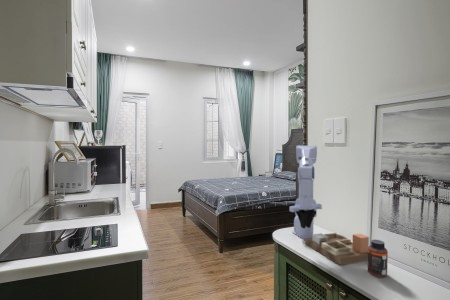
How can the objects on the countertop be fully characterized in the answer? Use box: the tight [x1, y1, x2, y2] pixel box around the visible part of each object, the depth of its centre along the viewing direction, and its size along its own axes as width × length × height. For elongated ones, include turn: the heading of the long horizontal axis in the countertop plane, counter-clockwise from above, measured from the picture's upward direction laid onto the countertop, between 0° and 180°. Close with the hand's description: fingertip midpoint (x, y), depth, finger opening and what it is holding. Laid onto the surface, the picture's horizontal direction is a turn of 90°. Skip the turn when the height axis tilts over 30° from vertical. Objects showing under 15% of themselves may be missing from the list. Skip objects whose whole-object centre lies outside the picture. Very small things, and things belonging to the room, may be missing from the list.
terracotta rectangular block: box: [352, 233, 370, 253], centre depth 104 cm, size 4×4×6 cm
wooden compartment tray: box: [305, 232, 368, 266], centre depth 110 cm, size 21×16×4 cm
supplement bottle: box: [367, 239, 389, 278], centre depth 91 cm, size 6×6×11 cm
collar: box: [322, 240, 353, 256], centre depth 104 cm, size 8×8×2 cm
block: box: [312, 233, 328, 245], centre depth 112 cm, size 4×4×3 cm
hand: (305, 227), depth 109 cm, fingers closed
